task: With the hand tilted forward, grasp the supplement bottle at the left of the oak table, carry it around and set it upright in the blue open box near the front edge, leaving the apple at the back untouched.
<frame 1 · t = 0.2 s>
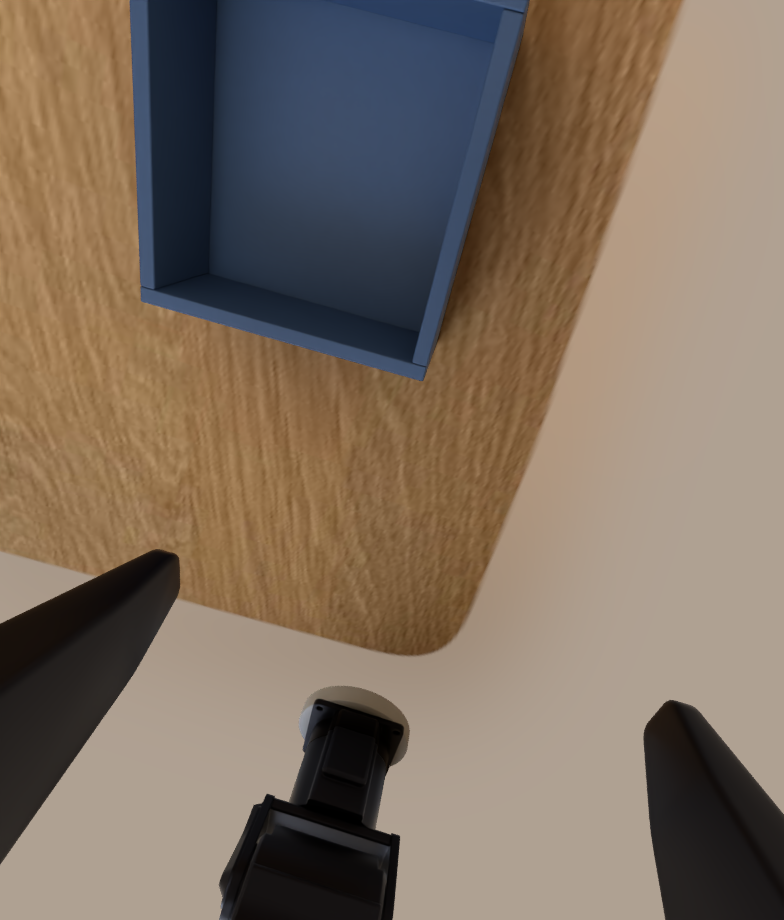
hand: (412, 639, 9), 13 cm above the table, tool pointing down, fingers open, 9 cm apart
blue open box: (338, 176, 17), on the table
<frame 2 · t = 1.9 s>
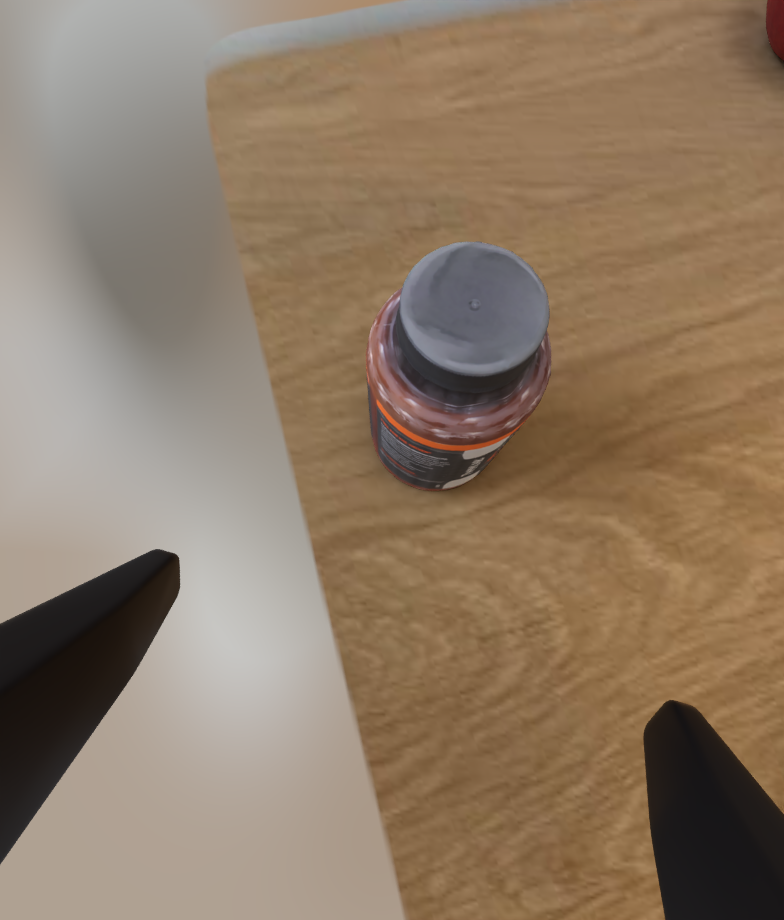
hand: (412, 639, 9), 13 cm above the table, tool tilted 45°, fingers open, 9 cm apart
supplement bottle: (432, 433, 24), on the table
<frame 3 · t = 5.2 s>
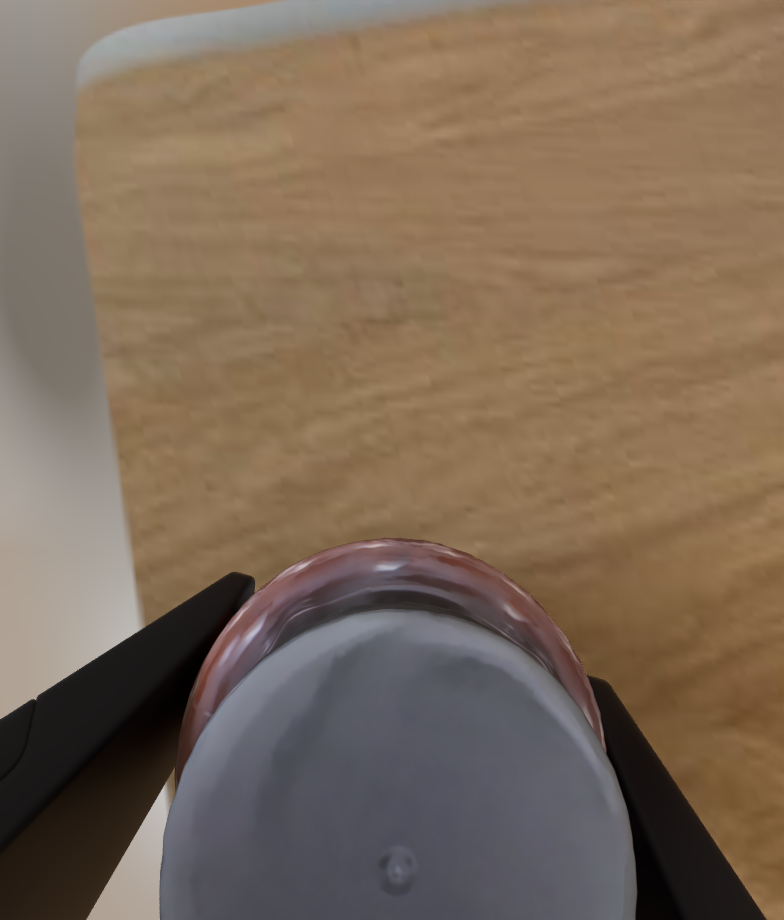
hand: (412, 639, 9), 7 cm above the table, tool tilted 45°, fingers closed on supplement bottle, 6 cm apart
supplement bottle: (387, 660, 15), on the table, touching gripper
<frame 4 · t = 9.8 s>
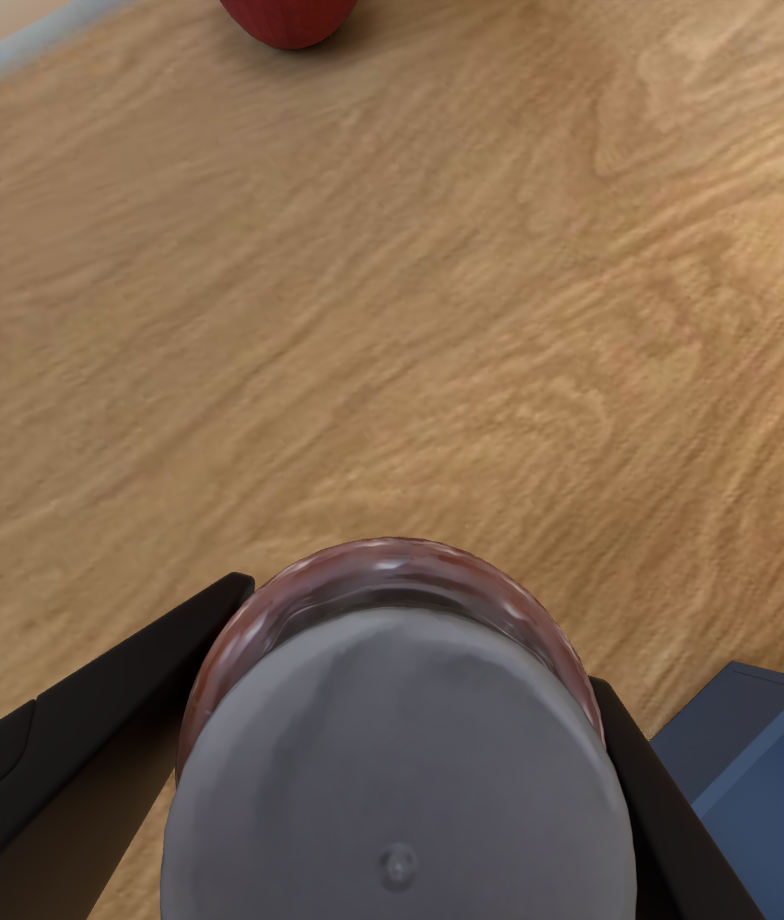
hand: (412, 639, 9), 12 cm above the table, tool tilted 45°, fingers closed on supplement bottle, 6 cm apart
supplement bottle: (387, 660, 15), point 5 cm above the table, touching gripper
apple: (297, 26, 28), on the table
blue open box: (739, 846, 19), on the table
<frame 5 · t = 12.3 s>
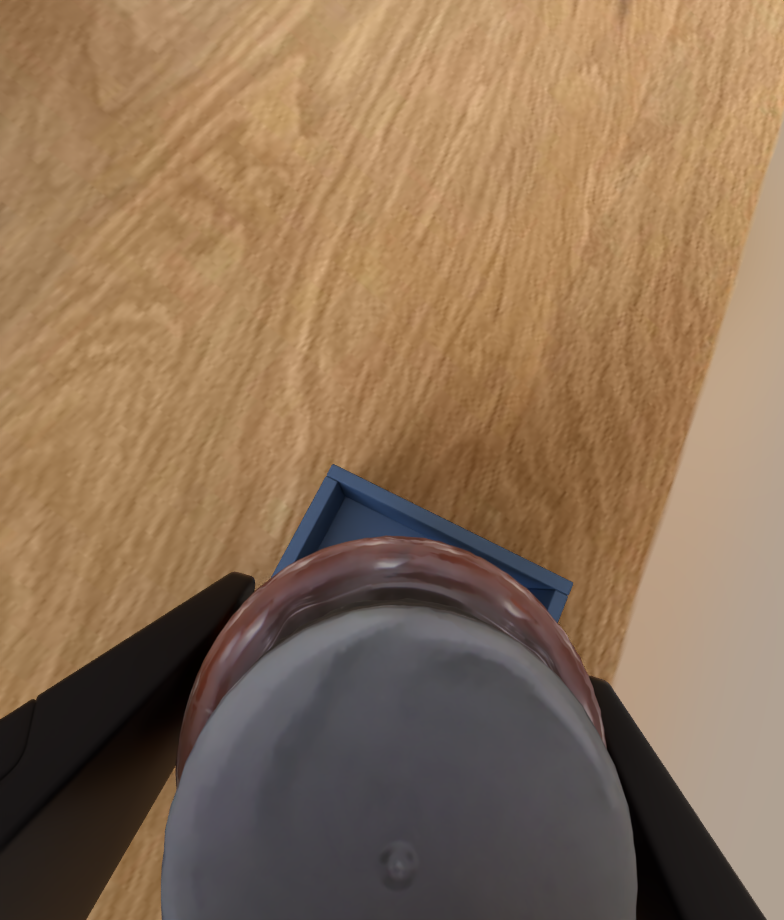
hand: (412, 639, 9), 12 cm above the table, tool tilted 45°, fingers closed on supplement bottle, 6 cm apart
supplement bottle: (387, 659, 15), point 5 cm above the table, touching gripper
blue open box: (389, 634, 20), on the table
when the fingers open (7 cm above the table, at t = 14.4 s): supplement bottle stays where it is, resting on blue open box.
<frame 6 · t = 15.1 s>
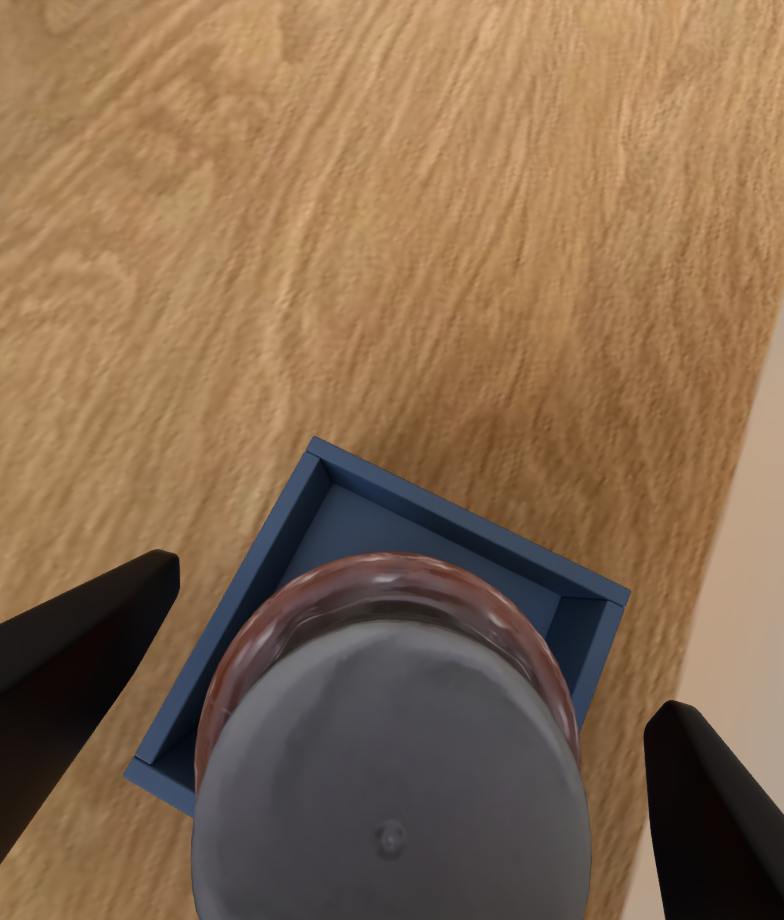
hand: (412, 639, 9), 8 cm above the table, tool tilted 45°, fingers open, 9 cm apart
supplement bottle: (385, 661, 16), resting on blue open box
blue open box: (388, 656, 16), on the table
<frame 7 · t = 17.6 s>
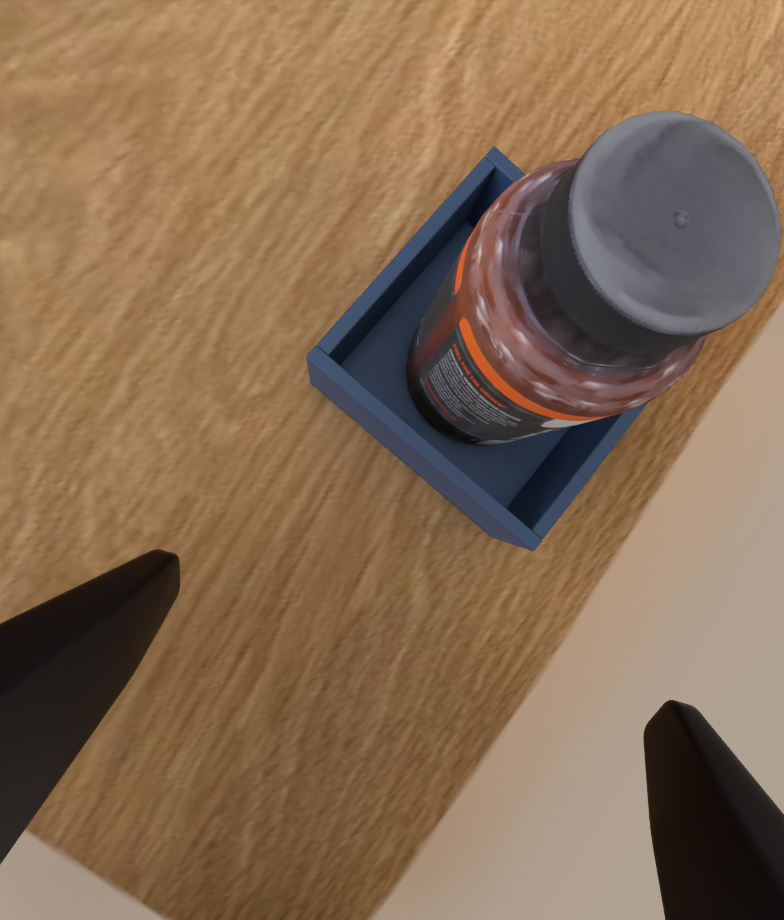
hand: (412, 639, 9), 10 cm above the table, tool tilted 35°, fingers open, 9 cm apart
supplement bottle: (476, 373, 20), resting on blue open box
blue open box: (477, 372, 20), on the table
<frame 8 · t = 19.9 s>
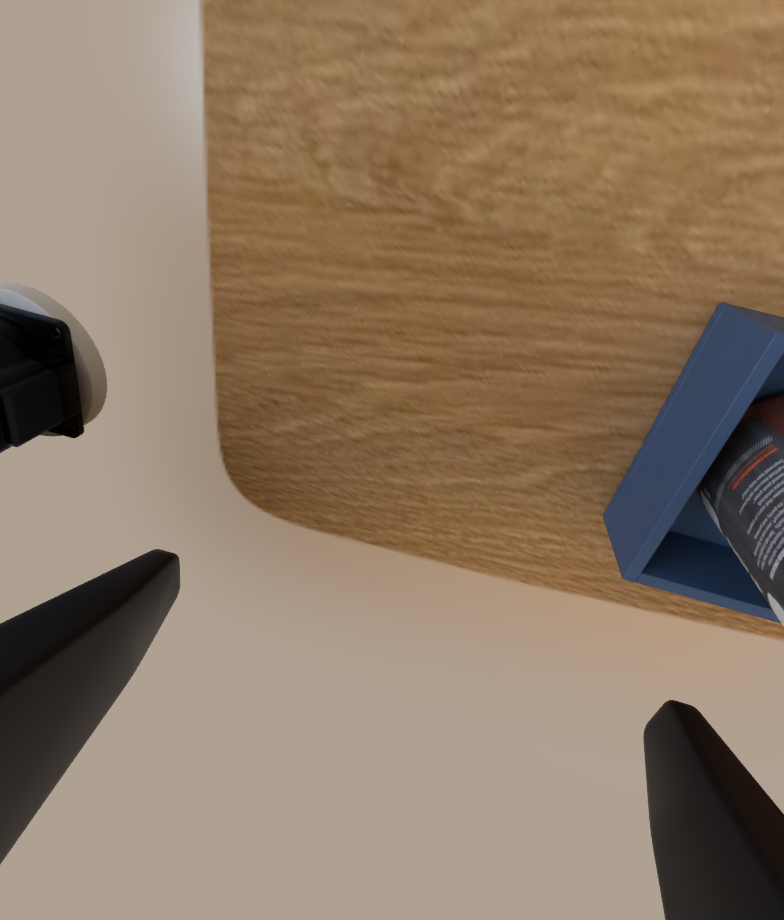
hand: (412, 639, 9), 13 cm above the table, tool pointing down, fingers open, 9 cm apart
supplement bottle: (775, 457, 19), resting on blue open box
blue open box: (775, 454, 19), on the table
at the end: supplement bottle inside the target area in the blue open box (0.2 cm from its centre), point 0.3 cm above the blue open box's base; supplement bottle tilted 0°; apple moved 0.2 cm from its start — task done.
